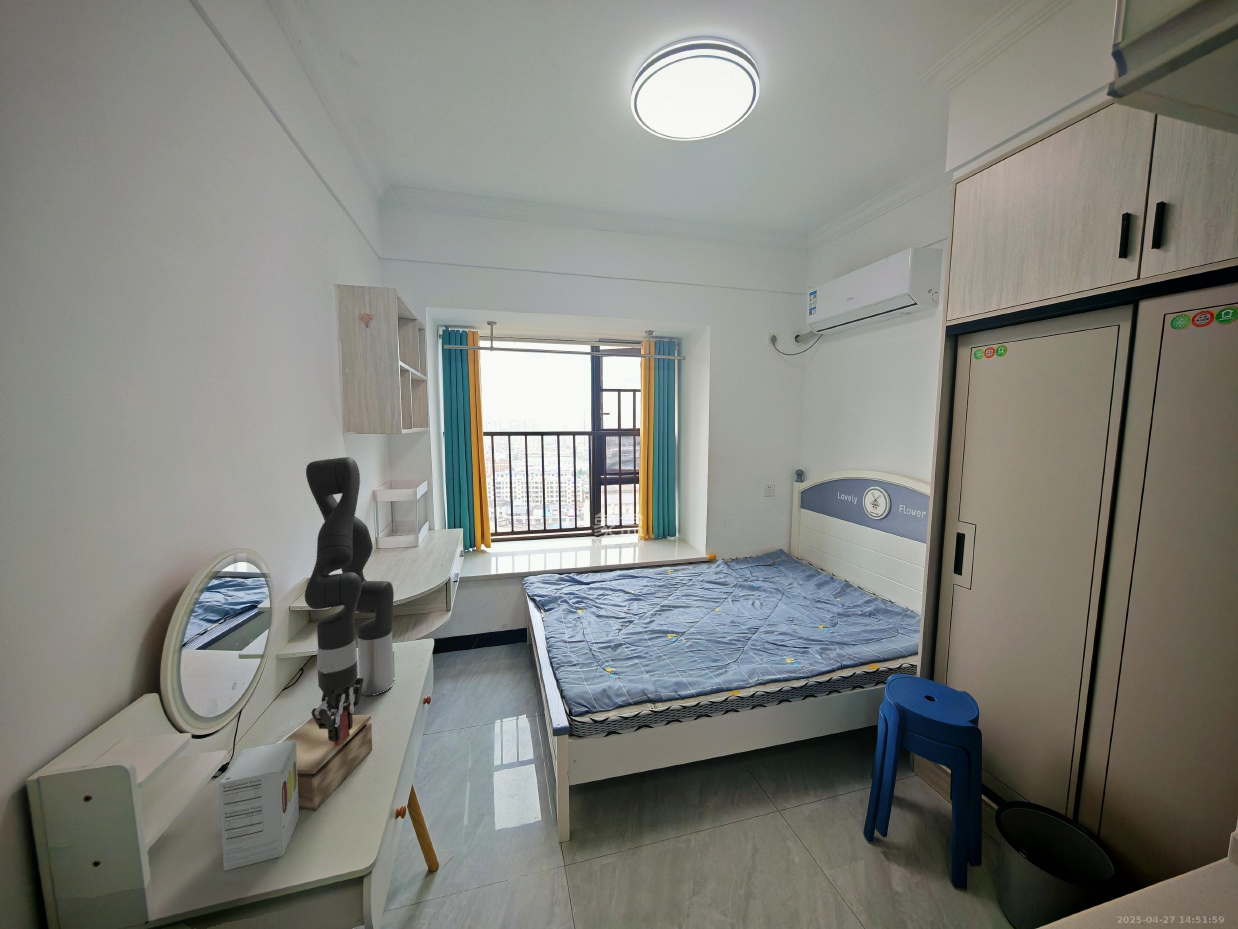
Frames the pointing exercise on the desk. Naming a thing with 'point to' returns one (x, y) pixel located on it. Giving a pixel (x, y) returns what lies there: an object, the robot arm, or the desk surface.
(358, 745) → the mailer base
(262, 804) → the supplement box
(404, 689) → the desk surface
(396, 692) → the desk surface
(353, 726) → the lid
